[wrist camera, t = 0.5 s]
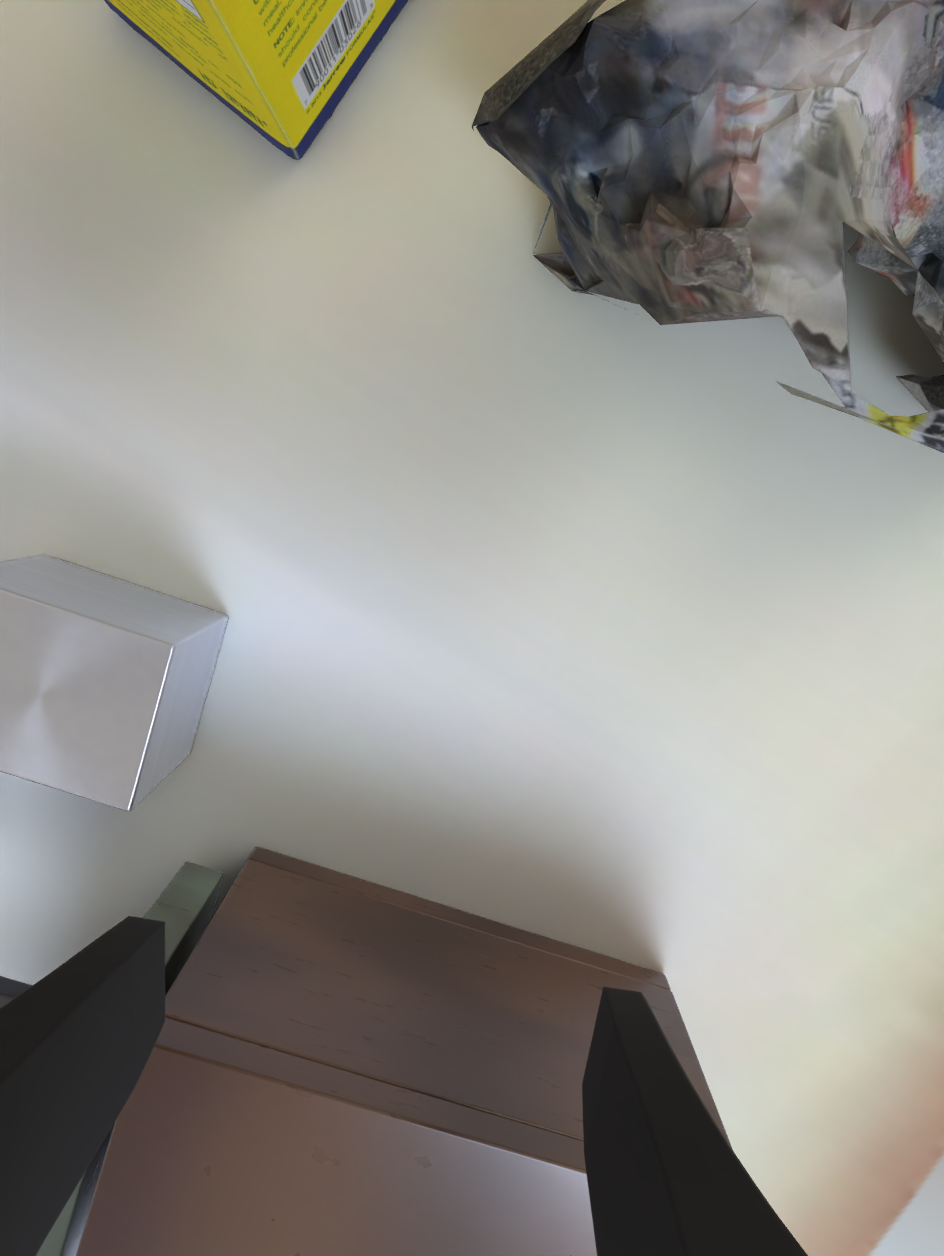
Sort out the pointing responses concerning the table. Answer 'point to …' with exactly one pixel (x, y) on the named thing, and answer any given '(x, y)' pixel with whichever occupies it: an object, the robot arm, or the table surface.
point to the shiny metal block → (98, 679)
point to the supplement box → (268, 54)
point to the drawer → (185, 922)
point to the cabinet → (364, 1082)
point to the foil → (743, 164)
